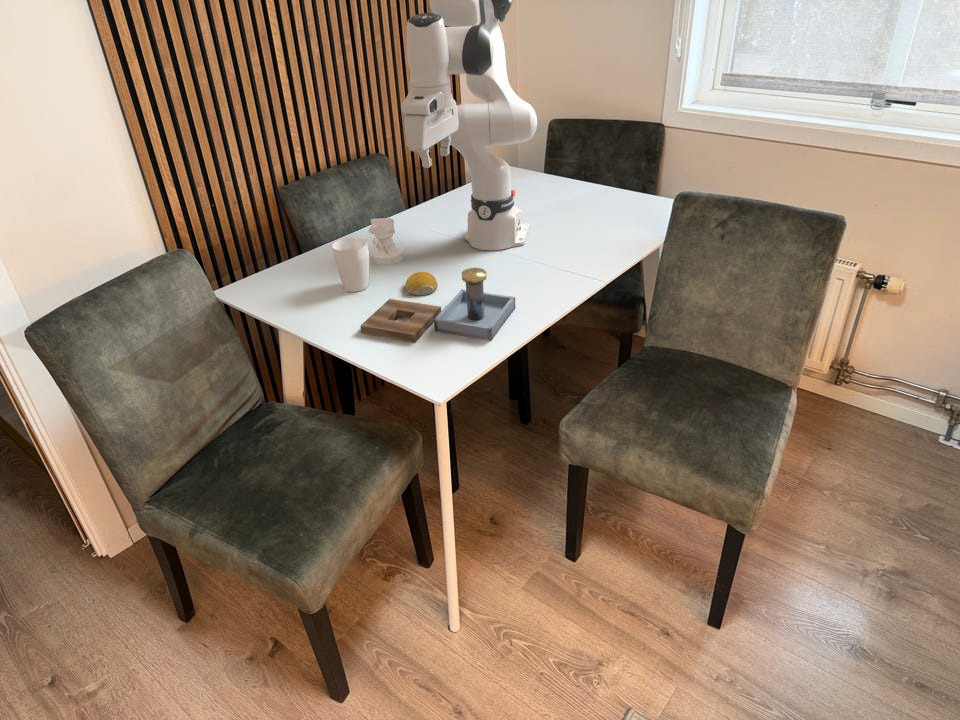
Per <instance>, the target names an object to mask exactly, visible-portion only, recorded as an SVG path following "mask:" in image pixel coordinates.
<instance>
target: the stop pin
mask: <svg viewBox="0 0 960 720" xmlns="http://www.w3.org/2000/svg"><path fill="white" fill-rule="evenodd" d="M461 280H462V281H463V282H465V290H466V297H467V315H468V319H470V320H474V321H477V320H481V319H483V318H484V317H485V314H484V293H485V292H484V291H485V290H484V282H485V280H487V270H485V269H483V268H480V267H471V268H466V269H464V270H463V271H461Z"/></svg>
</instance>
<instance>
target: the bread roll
mask: <svg viewBox="0 0 960 720" xmlns="http://www.w3.org/2000/svg"><path fill="white" fill-rule="evenodd" d="M438 286H439V283H438V282H437V279H436V277H435V276H434V275H433V274H432V273H430V272H428V271H427V272H426V271H417V272H415V273H414V272H413V273H412V274H411V275H409V276H408V277H407V279H406V281H405V283H404V287H405V289H406V291H407V293H408V294H410V295H413V296H417V297H419V296H426V295H427V296H428V295H431V294H434V292H435V291H437V289H438Z"/></svg>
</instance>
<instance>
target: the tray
mask: <svg viewBox="0 0 960 720" xmlns="http://www.w3.org/2000/svg"><path fill="white" fill-rule="evenodd" d="M515 309H516V296H510V295H504V294H496V293H489V292H484V314H485V317H484V318H483V319H481V320H477V321H474V320H470V319H468V315H467V297H466V289H461V290H460V291H458V293H457V294H456V295H455V296H454V297H453V298H452V299H451V300H450V301H449V302H448V303H447V304H446V306H444V308H443V309H441V312H440V314H439V315H438V316H437V317H436V318H435V319H434V323H433V324H434V325H433V326H434V332H436V333H437V332H439V333H444V334H450V335H455V336H456V335H457V336H462V337H468V338H474V339H479V340H486V341H492V340H493V339H494V338H495V336H496V335H497V334H498V333H499V331H500V330H501V328H503V326H504V325H505V323H506V321H507V320H508V319H509V317H510V316H511V315H512V313H514V311H515Z"/></svg>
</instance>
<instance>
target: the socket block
mask: <svg viewBox="0 0 960 720" xmlns="http://www.w3.org/2000/svg"><path fill="white" fill-rule="evenodd" d="M441 311H442V306H440V305H433V304H428V303H427V304H426V303H419V302H413V301H407V300H400V299H396V298H395V299H393V298H389V299H387V301H385V302H384V303H383V304H382V305H381V306H380V307H379V308H378V309H377V310H376V311H375V312H373V314H371V316H369V317H368V318H367V319H366V320H365V321H364V322H363V323H361V324H360V333H361V334H363V335H365V334H366V335H371V336H374V337H375V336H377V337H381V338H388V339H391V340H392V339H393V340H398V341H404V342H409V343H417V341H418V340H419V339H420V338H421V337H422V336H423V335H424V334H425V333H426V332H427V331H428V330H429V328H431V326H432V325H433V324H434V319H435V318H436V317H437V316H438V315H439V314H440V312H441ZM398 318H404V319H407V321H406V322H405V321H401V320H400V321H399V320H397V319H398Z"/></svg>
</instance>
